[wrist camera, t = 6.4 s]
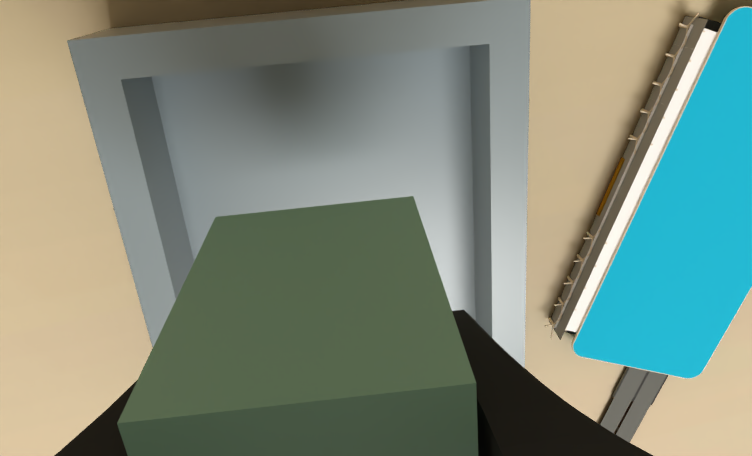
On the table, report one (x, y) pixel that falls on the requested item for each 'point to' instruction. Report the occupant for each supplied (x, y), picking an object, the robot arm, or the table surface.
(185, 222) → the tray
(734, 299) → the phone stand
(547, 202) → the table surface
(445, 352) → the block
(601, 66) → the table surface
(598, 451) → the robot arm
